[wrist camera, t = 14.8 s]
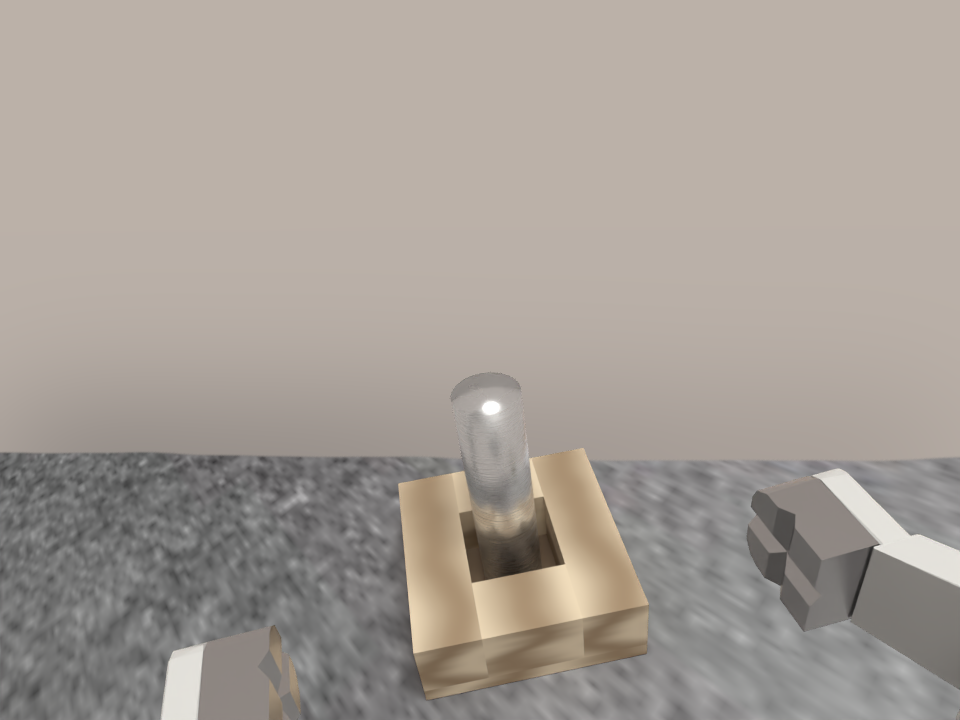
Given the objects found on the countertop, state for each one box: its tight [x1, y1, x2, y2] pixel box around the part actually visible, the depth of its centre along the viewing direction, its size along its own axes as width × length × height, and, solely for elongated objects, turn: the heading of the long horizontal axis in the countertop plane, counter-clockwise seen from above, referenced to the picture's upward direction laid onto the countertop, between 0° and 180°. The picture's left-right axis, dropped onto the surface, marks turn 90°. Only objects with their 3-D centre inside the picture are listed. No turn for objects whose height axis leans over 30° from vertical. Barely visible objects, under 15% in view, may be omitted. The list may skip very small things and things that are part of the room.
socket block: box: [398, 448, 649, 700], centre depth 48 cm, size 14×14×5 cm
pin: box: [451, 373, 542, 580], centre depth 45 cm, size 4×4×16 cm
